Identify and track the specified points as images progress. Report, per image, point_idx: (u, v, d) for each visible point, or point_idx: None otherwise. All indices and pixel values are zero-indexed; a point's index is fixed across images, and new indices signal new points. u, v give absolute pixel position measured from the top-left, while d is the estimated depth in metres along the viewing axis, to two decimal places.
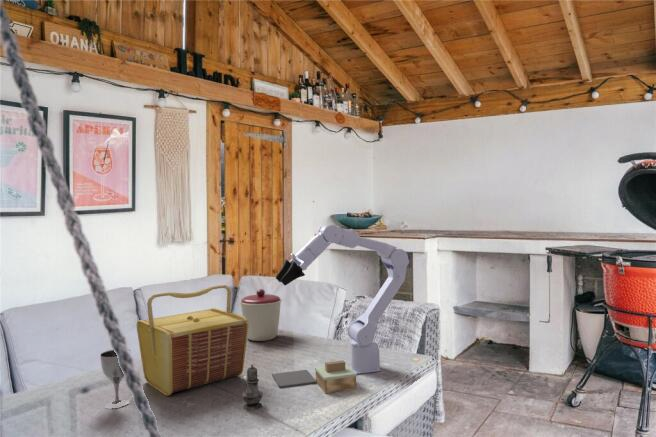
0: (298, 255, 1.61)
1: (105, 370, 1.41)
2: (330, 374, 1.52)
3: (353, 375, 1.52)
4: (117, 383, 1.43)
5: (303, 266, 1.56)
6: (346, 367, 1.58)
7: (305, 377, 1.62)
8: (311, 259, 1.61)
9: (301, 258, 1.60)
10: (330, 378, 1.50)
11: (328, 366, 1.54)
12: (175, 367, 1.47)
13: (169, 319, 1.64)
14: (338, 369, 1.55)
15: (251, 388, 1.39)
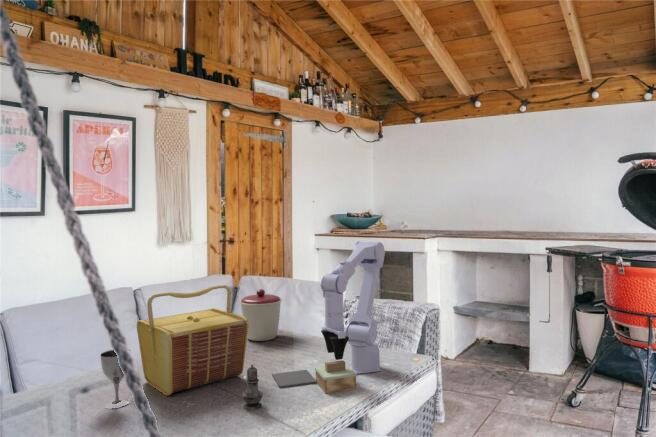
0: (328, 325, 1.53)
1: (105, 370, 1.41)
2: (330, 374, 1.52)
3: (353, 375, 1.52)
4: (117, 383, 1.43)
5: (342, 335, 1.48)
6: (346, 367, 1.58)
7: (305, 377, 1.62)
8: (341, 318, 1.53)
9: (333, 326, 1.52)
10: (330, 378, 1.50)
11: (328, 366, 1.54)
12: (175, 367, 1.47)
13: (169, 319, 1.64)
14: (338, 369, 1.55)
15: (251, 388, 1.39)
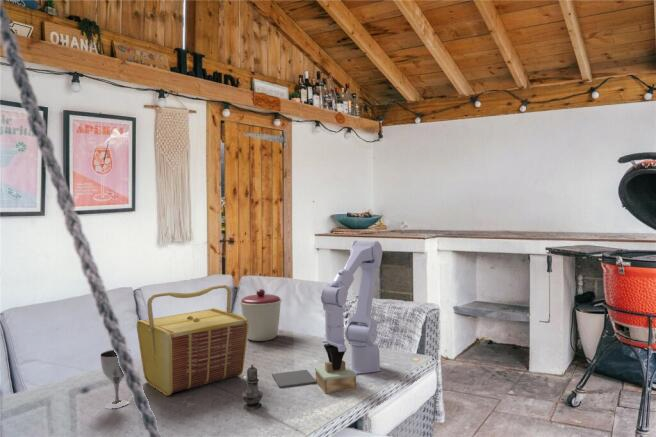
0: (329, 338, 1.53)
1: (105, 370, 1.41)
2: (330, 374, 1.52)
3: (353, 375, 1.52)
4: (117, 383, 1.43)
5: (342, 348, 1.48)
6: (346, 367, 1.58)
7: (305, 377, 1.62)
8: (341, 331, 1.53)
9: (333, 339, 1.53)
10: (330, 378, 1.50)
11: (328, 366, 1.54)
12: (175, 367, 1.47)
13: (169, 319, 1.64)
14: None
15: (251, 388, 1.39)
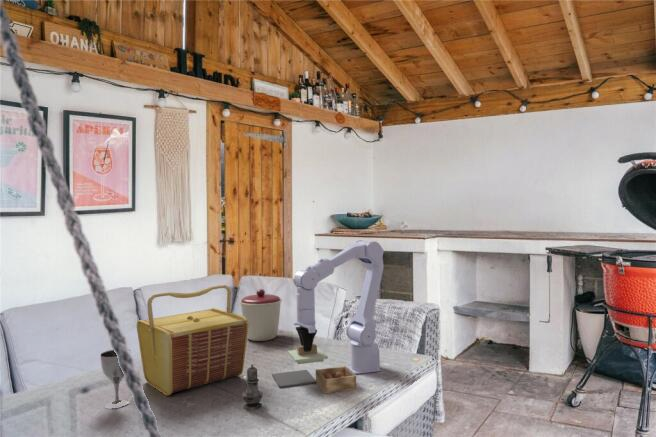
0: (300, 320, 1.57)
1: (105, 370, 1.41)
2: (301, 357, 1.56)
3: (324, 358, 1.56)
4: (117, 383, 1.43)
5: (312, 330, 1.52)
6: (318, 350, 1.62)
7: (305, 377, 1.62)
8: (312, 313, 1.57)
9: (304, 321, 1.57)
10: (301, 360, 1.54)
11: (300, 349, 1.58)
12: (175, 367, 1.47)
13: (169, 319, 1.64)
14: (310, 352, 1.59)
15: (251, 388, 1.39)
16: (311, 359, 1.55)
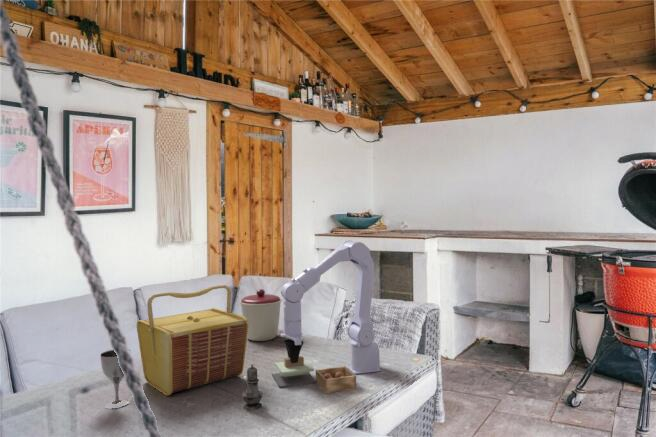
0: (286, 332, 1.59)
1: (105, 370, 1.41)
2: (288, 369, 1.58)
3: (310, 370, 1.58)
4: (117, 383, 1.43)
5: (298, 342, 1.55)
6: (305, 363, 1.64)
7: (305, 377, 1.62)
8: (298, 325, 1.60)
9: (291, 333, 1.59)
10: (287, 373, 1.56)
11: (287, 361, 1.60)
12: (175, 367, 1.47)
13: (169, 319, 1.64)
14: (296, 364, 1.61)
15: (251, 388, 1.39)
16: (297, 371, 1.57)
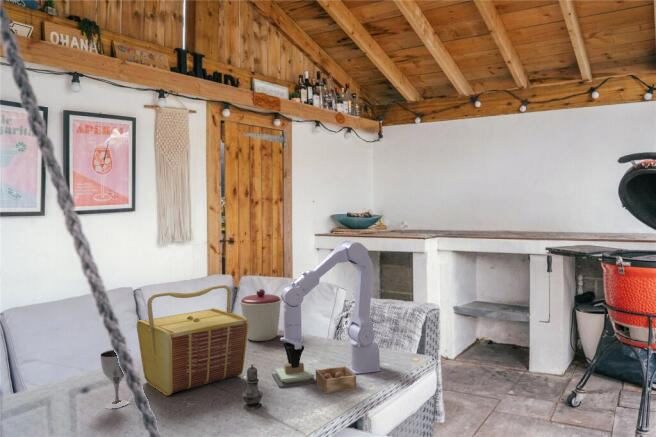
0: (286, 336, 1.59)
1: (105, 370, 1.41)
2: (288, 376, 1.58)
3: (310, 377, 1.58)
4: (117, 383, 1.43)
5: (298, 346, 1.55)
6: (305, 369, 1.64)
7: None
8: (298, 329, 1.60)
9: (291, 337, 1.59)
10: (287, 379, 1.56)
11: (287, 368, 1.60)
12: (175, 367, 1.47)
13: (169, 319, 1.64)
14: (297, 371, 1.61)
15: (251, 388, 1.39)
16: (297, 378, 1.57)
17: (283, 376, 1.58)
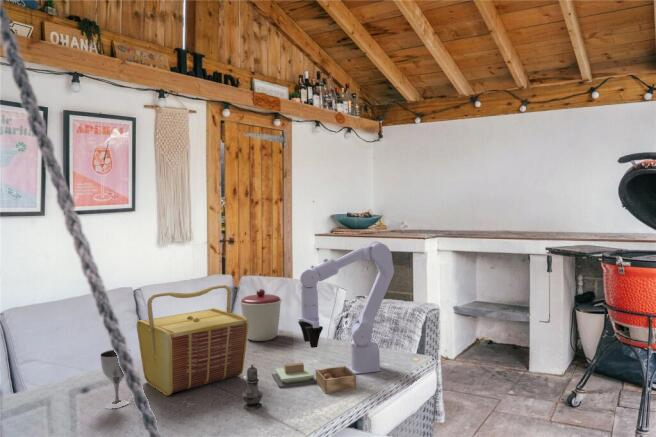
0: (304, 316, 1.67)
1: (105, 370, 1.41)
2: (288, 376, 1.58)
3: (310, 377, 1.58)
4: (117, 383, 1.43)
5: (316, 325, 1.62)
6: (305, 369, 1.64)
7: None
8: (315, 310, 1.67)
9: (308, 317, 1.66)
10: (287, 379, 1.56)
11: (287, 368, 1.60)
12: (175, 367, 1.47)
13: (169, 319, 1.64)
14: (297, 371, 1.61)
15: (251, 388, 1.39)
16: (297, 378, 1.57)
17: (283, 376, 1.58)
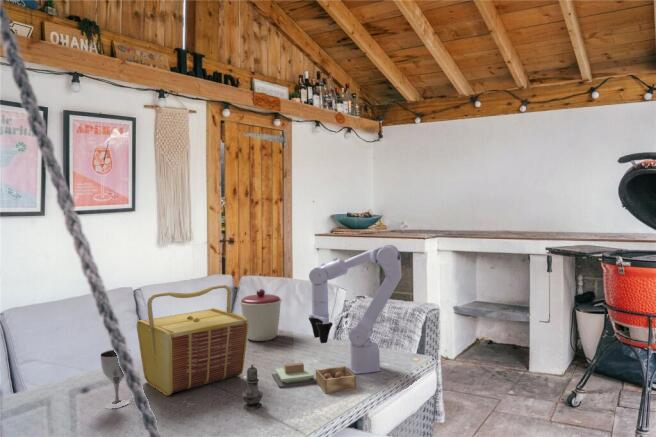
0: (314, 313, 1.71)
1: (105, 370, 1.41)
2: (288, 376, 1.58)
3: (310, 377, 1.58)
4: (117, 383, 1.43)
5: (326, 321, 1.67)
6: (305, 369, 1.64)
7: None
8: (325, 306, 1.72)
9: (318, 313, 1.71)
10: (287, 379, 1.56)
11: (287, 368, 1.60)
12: (175, 367, 1.47)
13: (169, 319, 1.64)
14: (297, 371, 1.61)
15: (251, 388, 1.39)
16: (297, 378, 1.57)
17: (283, 376, 1.58)
